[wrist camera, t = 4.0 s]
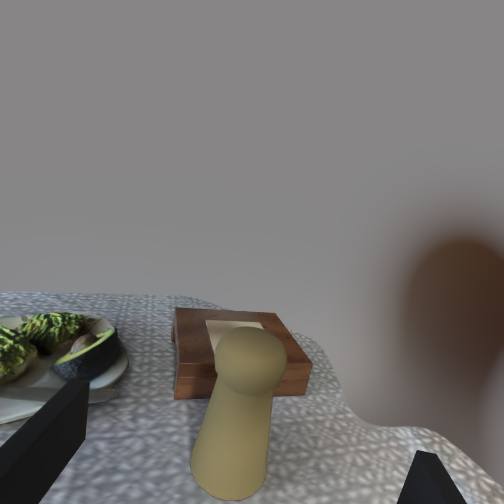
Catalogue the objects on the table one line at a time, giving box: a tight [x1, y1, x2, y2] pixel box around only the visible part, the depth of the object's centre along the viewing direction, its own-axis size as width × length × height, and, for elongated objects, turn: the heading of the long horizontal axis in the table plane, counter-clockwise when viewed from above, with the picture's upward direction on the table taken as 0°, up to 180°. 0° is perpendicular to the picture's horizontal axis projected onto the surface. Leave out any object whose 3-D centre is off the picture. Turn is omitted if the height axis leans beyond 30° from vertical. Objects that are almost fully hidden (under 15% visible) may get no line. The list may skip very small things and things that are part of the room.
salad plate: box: [0, 311, 129, 424], centre depth 28 cm, size 19×18×5 cm
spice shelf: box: [171, 307, 313, 399], centre depth 37 cm, size 12×14×4 cm
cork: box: [190, 326, 287, 500], centre depth 23 cm, size 6×6×11 cm
